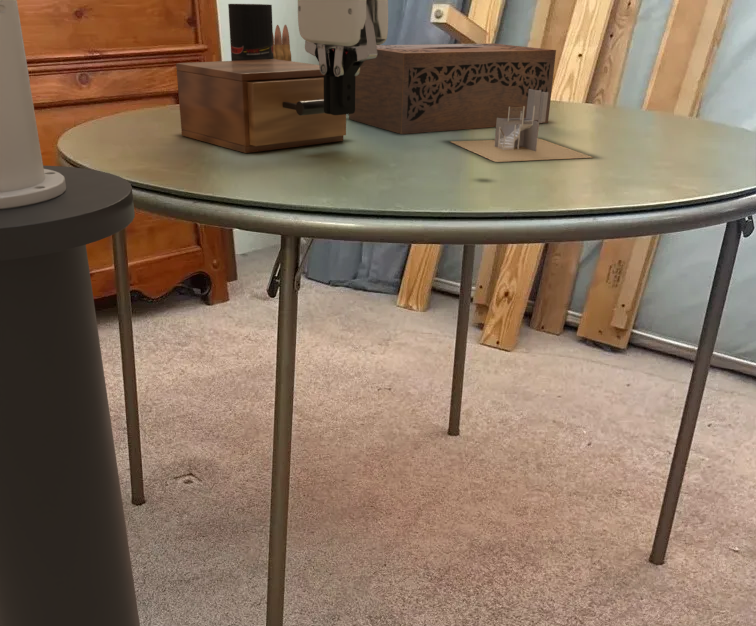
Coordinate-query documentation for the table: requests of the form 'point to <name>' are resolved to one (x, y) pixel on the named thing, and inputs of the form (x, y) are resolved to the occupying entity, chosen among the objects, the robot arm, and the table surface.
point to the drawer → (290, 111)
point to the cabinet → (231, 100)
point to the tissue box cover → (449, 85)
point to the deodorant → (251, 31)
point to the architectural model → (521, 136)
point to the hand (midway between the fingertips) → (339, 113)
